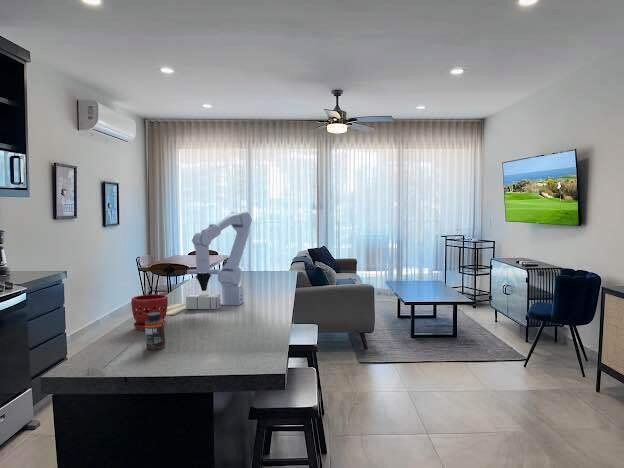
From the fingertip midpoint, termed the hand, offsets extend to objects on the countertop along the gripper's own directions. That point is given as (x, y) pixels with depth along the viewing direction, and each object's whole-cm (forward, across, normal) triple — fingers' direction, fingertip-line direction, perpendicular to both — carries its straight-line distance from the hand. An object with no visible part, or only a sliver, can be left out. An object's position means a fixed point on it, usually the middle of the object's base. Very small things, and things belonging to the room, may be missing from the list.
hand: (204, 290), depth 201 cm
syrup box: (+5, -10, +2) cm, 11 cm away
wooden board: (+9, -16, 0) cm, 18 cm away
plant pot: (+9, -10, -28) cm, 31 cm away
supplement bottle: (+9, +6, -52) cm, 53 cm away
